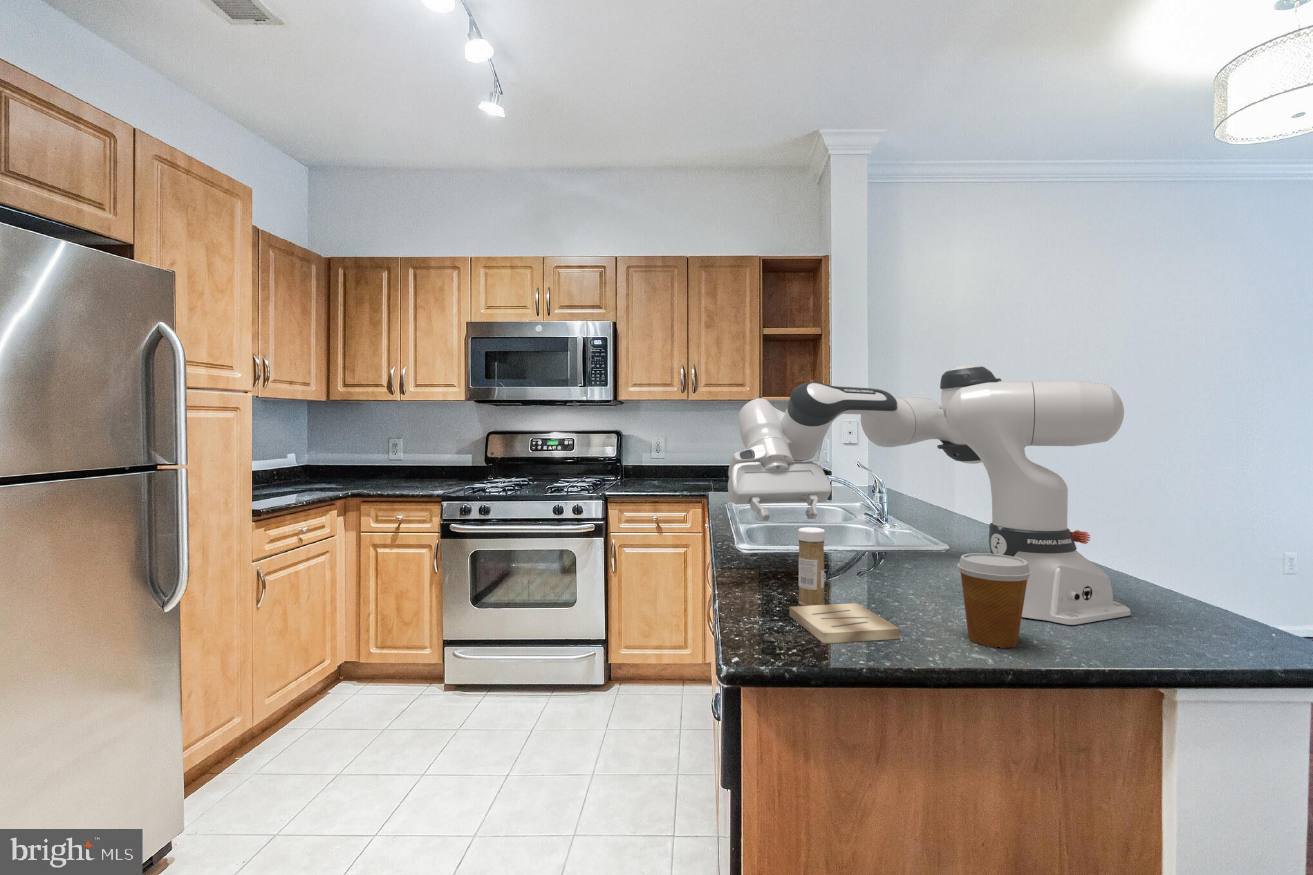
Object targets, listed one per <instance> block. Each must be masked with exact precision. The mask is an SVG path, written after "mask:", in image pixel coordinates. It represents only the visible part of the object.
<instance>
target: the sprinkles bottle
mask: <svg viewBox="0 0 1313 875" xmlns="http://www.w3.org/2000/svg"><path fill="white" fill-rule="evenodd" d="M797 539H798V602H797V604H798V605H799V606H813V605H826V604H825V593H824V592H825V562H824V561H825V558H824V557H825V555H824V549H825V548H824V547H825V546H824V544H825V540H826V531H825V529H823V528H819V527H811V526H810V527H808V526H807V527H799V529H797Z"/></svg>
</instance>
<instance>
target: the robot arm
mask: <svg viewBox="0 0 1313 875" xmlns="http://www.w3.org/2000/svg"><path fill="white" fill-rule="evenodd" d="M939 389H940V390H941V393H940V394H941V398H940V400H941V404H939V403H938V402H937V401H935V400H933V399H930V398H925V397H915V396H914V397H912V396H906V397H894V396H893V395H892V394H891V393H890V392H888V391H886V390H883V389H878V388H870V387H856V386H855V387H853V386H836V385H829V384H825V383H822V382H817V381H816V382H815V381H809V382H804V383H802V384H799V385H797V386H795V387H794V388H793V390H792V391H791V392H790V393H791V394H790V396H789V399H788V403H787V405H786V406H787V407H786V410H785V411H781V410H779V409H777V408H776V407H775V406H773V405H772V404H771V403H770V402H769V400H768V399H766V398H759V397H758V398H754V399H752V400H750V401H748V402H747V403H745V404H744V405H743V407H741V409H740V411H739V414H738V417H737V420H738V421H737V422H738V430H739V433H740V438H741V441H742V444H743V446H744V448H746V449H743V450H739V451H737V452H735V453H734V454H732V455H733V456H732V458H731V460H730V464H729V467H728V473H727V475H728V482H727V492H728V498H729V500H730V502H731V503H733V504H734V505H736V506H739V505H749V507H750V509H752V511H753V512H754V513H756V515H758V518H759V521H760V522H763V521H765V522H766V521H769V519H770V516H771V515H770V512H769V508H764V507H763V506H762V505H763V504H765V505H766V504H792V503H793V504H794V503H797V504H798V503H806V504H807V506H808V507H807V508H806V510H805V512H804V513H805V516H806V519H807V520H816V518H817V516H818V511H817V509H816V507H817V503H822V502H827V499H828V498H829V497H830V496H831V493H832V490H833V488H832V485H831V483H830V481H829V479H828V477H827V475H826V473H825V472H824V470H823V466H821V465H820V464H818V463H816V462H815V463H814V461H811V460H810V459H812V458H814V457H815V455H817V452H818V450H820V447H821V445H822V443H823V442H824V440H825V436H826V434H827V433H828V431H829V429H830V428H831V425H832V423H834V421H835V420H837V418H838V417H840V416H841V415H860V423H861V424H860V425H861V428H862V431H863V433H864V435H865V437H867V439H868V440H869V441H870V442H871V443H873V444H875V446H878V447H881V448H895V447H903V446H909V445H912V444H917V443H921V442H924V441H929V440H939V441H940V442H941V443H942V444H938V445H936V447H937V449H939V450H943V452H944V453H945V455H946V456H948V457H949V458H951V459H952V460H954V461H956V462H961V463H963V464H969V465H970V464H971V465H974V464H975V465H976V464H981V463H982V465H983V466H984V468H985V470H986V473H987V476H988V478H989V485H990V491H991V509H992V513H991V514H992V515H991V517H992V518H991V519H992V520H991V521H992V522H991V523H989V527H988V528H989V530H988V544H989V550H990V551H989V552H990V554H999V555H1006V556H1012V557H1016V558H1020V559H1023V560H1025V561H1027V562H1028V566H1029V570H1031V571H1032V572H1031V575H1029V579H1028V580H1027V586H1026V592H1025V598H1024V605H1023V611H1022V618H1028V619H1034V620H1040V621H1041V620H1042V621H1048V622H1052V623H1058V624H1062V625H1067V626H1070V625H1071V626H1073V625H1074V626H1075V625H1082V624H1087V623H1092V622H1094V623H1095V622H1097V621H1105V620H1110V619H1116V618H1122V617H1128V616H1131V614H1132V613H1131V609H1130V608H1129V607H1128V606H1126V605H1125V604H1123V603H1120V602H1118V601H1115V600H1114V596H1113V587H1112V586H1113V585H1112V583H1111V579H1110V577H1109V576H1108V574H1107V573H1105V571H1103V570H1102V569H1101V568H1099V567H1097V566H1096V565H1095V564H1094V563H1092V562H1091V561H1090V560H1089V559H1088V558H1086V557H1085V556H1083V555H1082V554H1081V553H1080V552H1079V551H1078V550H1077V549H1078V548H1077V546H1076V543H1080V544H1084V545H1086V544H1088V543H1089V542H1091V535H1090V533H1089V532H1088V531H1080V530H1079V529H1078V530H1077V529H1076V530H1074V531H1071V530H1070V529H1069V528H1068V506H1069V505H1068V504H1069V502H1068V499H1069V498H1068V497H1069V496H1068V493H1069V490H1068V485H1067V483H1066V482H1065V480H1064V479H1063V477H1061V476H1060V475H1059V474H1058V473H1056V472H1054V471H1052V470H1051V469H1049V468H1047V467H1045V466H1042V465H1040V464H1038V463H1035V462H1033V461H1031V460H1030V459H1029V458H1028V457H1027V455H1026V452H1025V451H1026V450H1025V448H1026V447H1033V446H1034V447H1077V446H1085V445H1092V444H1093V445H1094V444H1100V443H1105V442H1108V441H1109V440H1111V439H1112V438H1113V437H1114V436H1116V435H1117V433H1118V431H1119V430H1120V429H1121V426H1122V424H1123V422H1124V416H1125V408H1124V404H1123V401H1122V398H1121V397H1120V395H1119V394H1118V393H1117V391H1116V390H1115V389H1114V388H1113V387H1111V386H1110V385H1108V384H1105V383H1099V382H1091V381H1083V380H1069V379H1067V380H1032V381H1030V380H1029V381H1003V380H1002V379H1001V377H1000V378H998V377H996V375H994V373H993V372H992V371H991V370H989V369H988V368H986V367H985V366H980V365H976V364H970V363H969V364H960V365H957V366H954V367H953V368H950V369H949V370H947V371H945V372H944V373H943V374H942V375H941V378H940V384H939ZM808 460H809V461H808ZM761 504H762V505H761ZM1075 542H1076V543H1075Z"/></svg>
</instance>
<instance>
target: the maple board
mask: <svg viewBox="0 0 1313 875" xmlns="http://www.w3.org/2000/svg"><path fill="white" fill-rule="evenodd" d="M788 613H789V614H788V615H789V617H791V619H793V620H794V621H795V622H796V623H797V624H799V625H800V626H801V627H803V629H806V631H807V632H809V633H810V634H811V635H813V636H814V637H815V638H816V639H817V640H819V642H821V643H822V644H838V643H839V644H840V643H853V642H869V641H870V642H871V641H884V640H898V639H899V640H900V639H901V629H900V627H898V626H896V625H894V624H893V623H892V622H889V621H888V620H886V619H884V618H883V617H881V616H879V615H878V614H876V613H875V612H873V611H871V610H869V609H867V607H865V606H863V605H861V604H859V603H857V602H856V603H855V602H853V603H838V604H837V603H836V604H824V605H813V606H801V605H799V606H795V605H794V606H789V612H788Z"/></svg>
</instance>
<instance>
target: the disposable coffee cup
mask: <svg viewBox="0 0 1313 875" xmlns="http://www.w3.org/2000/svg"><path fill="white" fill-rule="evenodd" d="M956 566H957V568H958V570H959V572H960V578H961V584H962V594H963V602H964V610H965V618H966V625H967V626H966V628H967V636H968V639H969V640H971V641H972V642H974V643H976V644H978V643H979V645H981V644H982V645H983V646H985V645H986V647H989V648H997V647H1000V648H999V649H1008V648H1009V647H1011V648H1014V647H1017V646H1018V643H1019V642H1018V641H1019V635H1020V634H1019V633H1020V629H1021V628H1020V627H1021V623H1022V618H1023V617H1022V611H1023V605H1024V598H1025V592H1026V586H1027V580H1028V579H1029V575H1031V572H1032V571H1031V570H1029V566H1028V562H1027V561H1025V560H1023V559H1020V558H1016V557H1012V556H1006V555H999V554H991V553H987V552H986V553H984V552H983V553H982V552H979V553H978V552H973V553H972V552H971V553H965V554H961V556H960V559H959V562H958V563H957V565H956ZM1016 645H1017V646H1016ZM1006 647H1007V648H1006ZM1009 649H1010V648H1009Z"/></svg>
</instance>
